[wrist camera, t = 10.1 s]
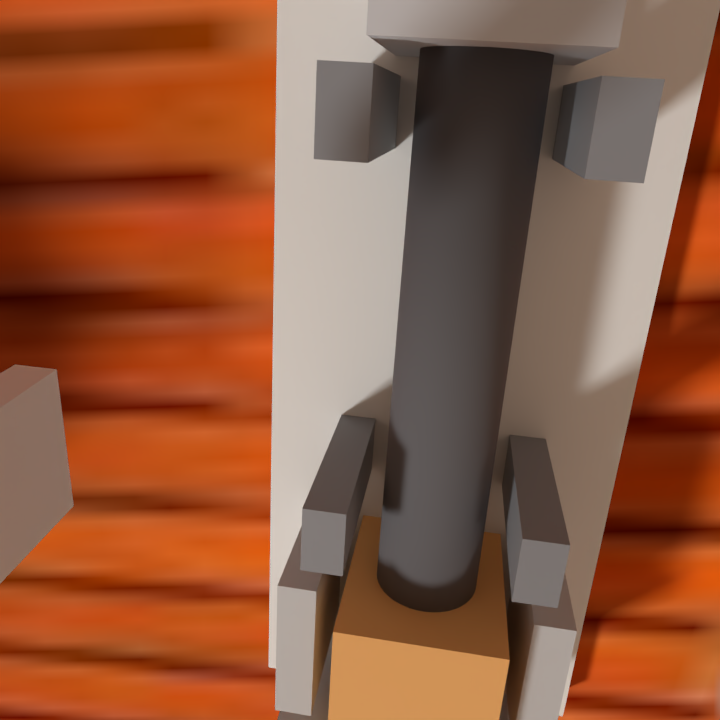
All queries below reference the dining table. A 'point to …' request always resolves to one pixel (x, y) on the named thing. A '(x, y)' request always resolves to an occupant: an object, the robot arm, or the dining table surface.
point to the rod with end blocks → (453, 354)
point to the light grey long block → (530, 337)
